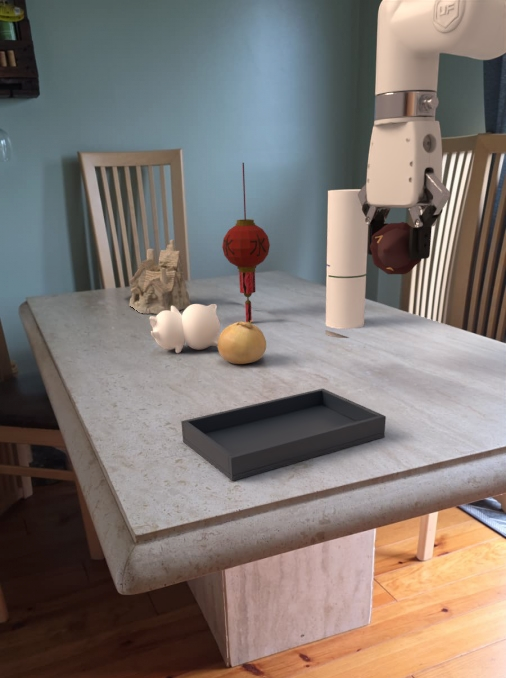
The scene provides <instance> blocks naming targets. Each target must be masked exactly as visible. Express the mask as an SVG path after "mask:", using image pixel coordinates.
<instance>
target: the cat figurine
mask: <svg viewBox="0 0 506 678" xmlns="http://www.w3.org/2000/svg"><path fill="white" fill-rule="evenodd" d="M217 306H218V305H217V304H215V303H211V304H209V305H205V304H201V303H194V304H191V305H190V306H188V307H187V308H185V309H184V310H183V312H182V313H181V311H180V310H178V309H177V308H176V307H175V306H171V311H168V310H165V311H162V312H160V313H159V314H156V316H153V315H150V316H149V324H150V326H151V328H152V330H150V335H151V337H152V338H154V340H155V342H156V343H157V344H158V346H159V347H160V348H162V349H165V350H168V351H171V350H174V351H175V353H176V354H180V353H181V351H182V350H183V348H184V345H185V344H186V345H187V346H188V347H189V348H191V349H193V350H197V351H201V350H205V349H207V348H209V347H218V339H219V336H220V332H221V322H220V319H219V317H218V315H217Z"/></svg>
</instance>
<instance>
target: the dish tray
mask: <svg viewBox="0 0 506 678" xmlns="http://www.w3.org/2000/svg"><path fill="white" fill-rule="evenodd" d="M386 420H387V416H386V415H384V414H382V413H380V412H377V411H375V410H372V409H371V408H368V407H366V406H364V405H361V404H359V403H356V402H354V401H352V400H350V399H347V398H346V397H344V396H341V395H339V394H336V393H335V392H332V391H329V390H328V389H325V388H322V387H321V388H319V389H313V390H310V391H306V392H301V393H297V394H292V395H288V396H285V397H280V398H275V399H271V400H266V401H263V402H258V403H253V404H249V405H246V406H240V407H236V408H233V409H232V408H231V409H228V410H224V411H220V412H215V413H210V414H206V415H202V416H197V417H193V418H189V419H185V420H181V422H180V423H181V435H182V442H183V443H184V444H185V445H186V446H188V447H189V448H190V449H192V451H194V452H196V454H198V455H199V456H200V457H201V458H203V459H204V460H205V461H207V462H208V463H209V464H210V465H212V467H214V468H216V469H217V470H218V471H219V472H220V473H222V474H223V475H224V476H226V477H227V478H228V479H229V480H230V481H232V482H234V481H237V480H242V479H244V478H247V477H248V478H249V477H251V476H255V475H258V474H262V473H265V472H268V471H272V470H276V469H279V468H282V467H286V466H289V465H292V464H297V463H299V462H303V461H306V460H310V459H313V458H317V457H320V456H323V455H327V454H330V453H334V452H337V451H338V452H339V451H340V450H344V449H348V448H351V447H354V446H358V445H361V444H364V443H368V442H372V441H375V440H379V439H383V438H385V436H386V422H387V421H386Z"/></svg>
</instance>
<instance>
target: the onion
mask: <svg viewBox="0 0 506 678" xmlns="http://www.w3.org/2000/svg"><path fill="white" fill-rule="evenodd" d="M254 320H255V319H252V320H251V321H250V323H249V322H246V321H243V320H241V321H236V322H234V323H231V324H229V325H228V326H226V327H225V328H224V329H222V331H221V333H219V339H218V346H217V350H218V354H219V356H220V357H221V358H223V360H225V361H227V362H228V363H230V364H234V365H246V364H251V363H255V362H256V361H258V360H261V359H262V357H263V356H264V354H265V352H266V349H267V340H266V337H265V335H264V332H262V330H261V329H260V328H259V327H258V326H257V325H255V324H253V322H254ZM251 322H252V323H251Z"/></svg>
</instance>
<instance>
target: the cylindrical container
mask: <svg viewBox="0 0 506 678" xmlns="http://www.w3.org/2000/svg"><path fill="white" fill-rule="evenodd" d="M361 189H362V188H361ZM361 189H360V188H359V189H358V188H357V189H356V188H354V189H353V188H352V189H330V190H327V226H326V227H327V229H326V231H327V232H326V233H327V234H326V237H327V239H326V286H325V288H326V289H325V290H326V291H325V293H326V294H325V295H326V296H325V326H326V327H328V328H331V329H340V330H348V329H349V330H351V329H357V328H361V327H363V326H365V313H366V312H365V311H366V309H365V308H366V287H367V286H366V285H367V266H368V265H367V262H368V253H367V247H368V225H367V224H366V222H365V218H366V217H365V215H364V213H363V211H362V206H361V203H360V200H359V198H358V192H359V191H360V190H361ZM325 335H327V336H328V337H333V338H340V339H346V338H347V339H349V338H350V336H346V335H343V334H340V333H337V332H334V331H330V330H328V329H326V330H325Z"/></svg>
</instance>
